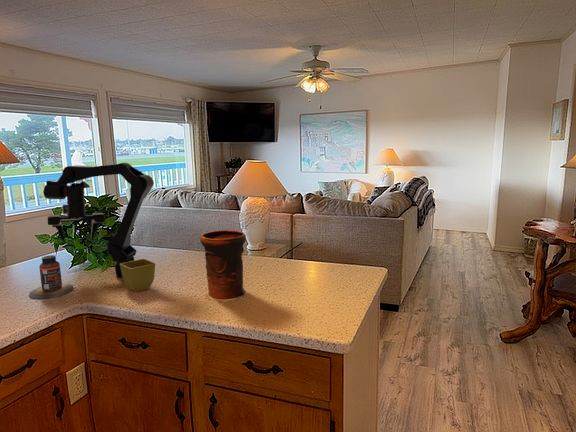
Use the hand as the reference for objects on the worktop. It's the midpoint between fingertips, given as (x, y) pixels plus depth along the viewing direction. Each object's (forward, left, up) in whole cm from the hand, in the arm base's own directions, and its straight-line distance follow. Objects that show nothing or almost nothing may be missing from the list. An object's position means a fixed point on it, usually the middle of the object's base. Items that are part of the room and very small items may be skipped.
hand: (78, 241), depth 152 cm
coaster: (+9, +15, -13) cm, 22 cm away
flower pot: (-18, +26, -13) cm, 35 cm away
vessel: (-43, +44, -13) cm, 63 cm away
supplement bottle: (+9, +16, -13) cm, 22 cm away
